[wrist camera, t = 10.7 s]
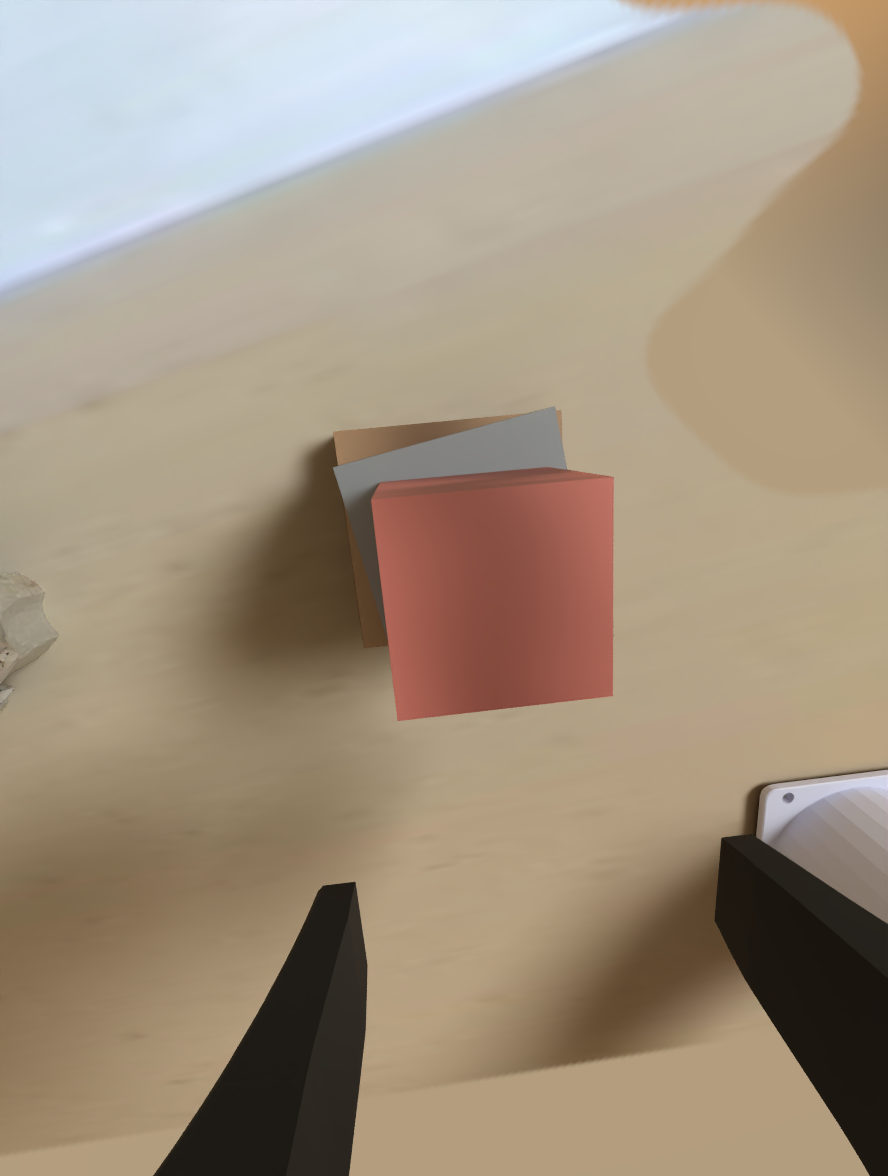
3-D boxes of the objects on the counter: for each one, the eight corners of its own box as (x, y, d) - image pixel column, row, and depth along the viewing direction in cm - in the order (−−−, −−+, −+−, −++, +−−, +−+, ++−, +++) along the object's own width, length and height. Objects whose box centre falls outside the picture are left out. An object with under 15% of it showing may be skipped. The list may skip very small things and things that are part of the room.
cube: (547, 466, 14) (613, 477, 10) (552, 624, 15) (612, 696, 11) (380, 482, 14) (371, 499, 9) (398, 641, 15) (397, 720, 11)
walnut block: (540, 415, 19) (561, 410, 16) (547, 602, 20) (567, 624, 18) (341, 433, 18) (333, 431, 16) (368, 624, 20) (364, 648, 18)
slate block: (531, 412, 16) (555, 406, 14) (568, 593, 18) (595, 616, 15) (342, 464, 16) (333, 467, 14) (397, 641, 18) (397, 671, 15)
